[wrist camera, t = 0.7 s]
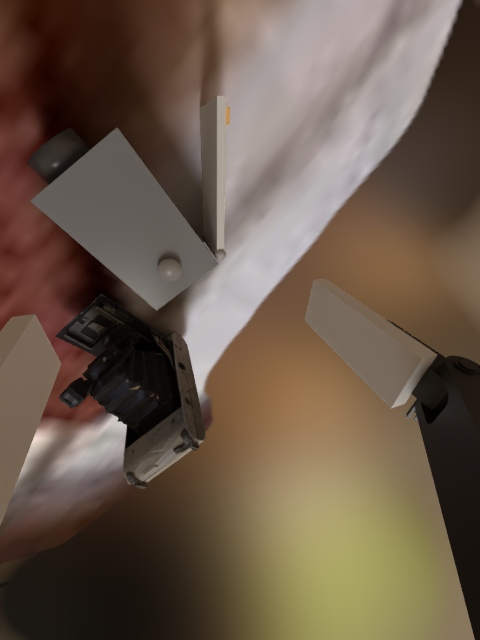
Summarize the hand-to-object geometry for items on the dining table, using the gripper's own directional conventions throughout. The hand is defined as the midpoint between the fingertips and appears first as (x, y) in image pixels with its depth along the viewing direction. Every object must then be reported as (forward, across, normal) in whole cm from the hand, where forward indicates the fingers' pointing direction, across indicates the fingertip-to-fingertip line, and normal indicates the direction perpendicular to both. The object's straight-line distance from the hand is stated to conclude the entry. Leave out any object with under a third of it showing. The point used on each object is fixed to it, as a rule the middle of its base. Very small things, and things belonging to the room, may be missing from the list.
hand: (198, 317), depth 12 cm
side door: (+23, +6, +4) cm, 24 cm away
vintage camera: (+23, -7, -16) cm, 29 cm away
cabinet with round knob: (+23, -3, +1) cm, 23 cm away
